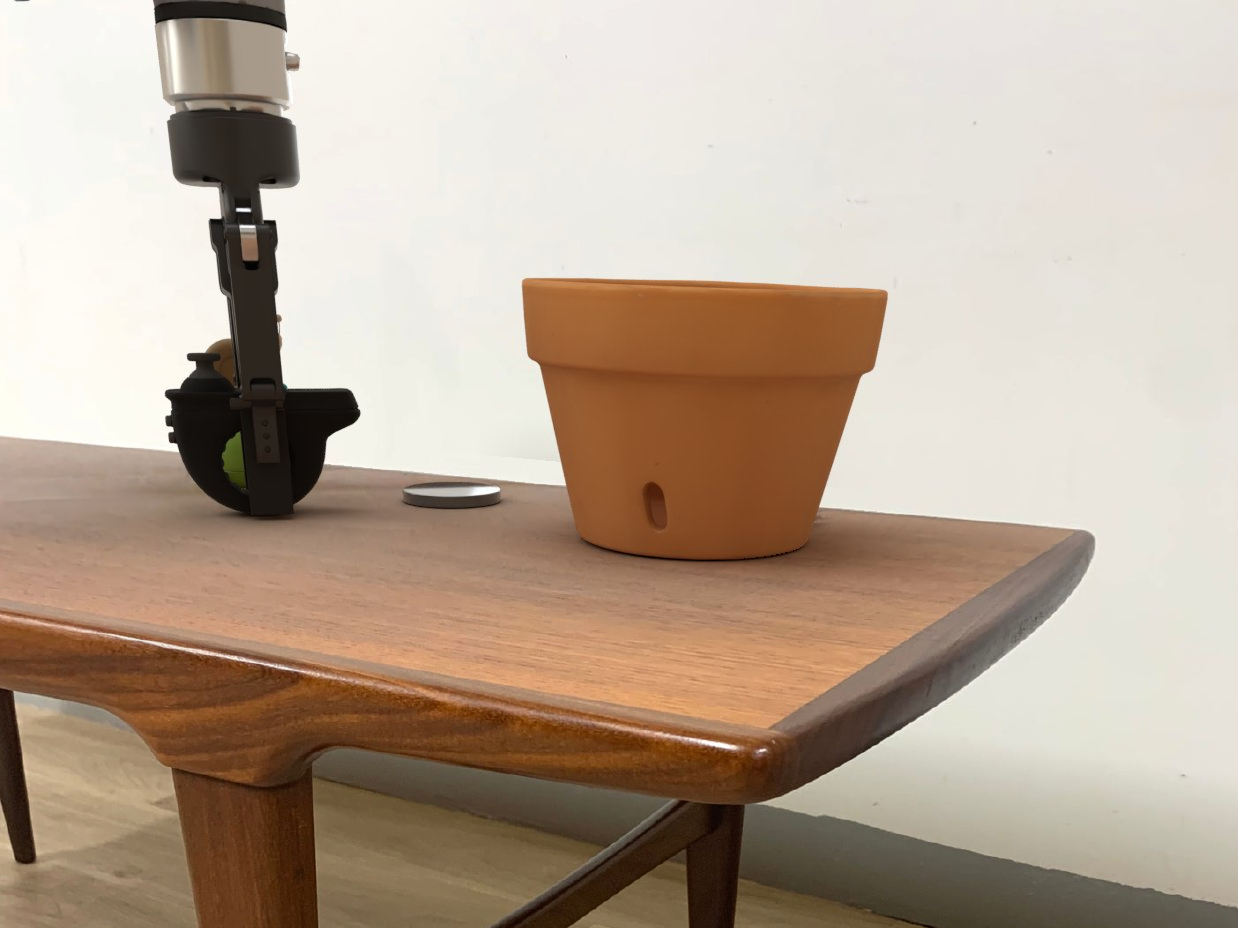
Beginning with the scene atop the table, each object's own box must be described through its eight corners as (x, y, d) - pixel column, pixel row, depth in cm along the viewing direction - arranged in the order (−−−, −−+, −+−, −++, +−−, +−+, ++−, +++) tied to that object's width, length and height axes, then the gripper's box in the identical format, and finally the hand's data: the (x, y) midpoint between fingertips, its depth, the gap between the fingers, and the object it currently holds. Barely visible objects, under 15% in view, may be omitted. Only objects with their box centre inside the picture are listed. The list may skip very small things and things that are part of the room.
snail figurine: (310, 488, 98) (296, 315, 93) (228, 496, 94) (210, 315, 89) (277, 480, 101) (262, 312, 97) (197, 486, 98) (178, 312, 93)
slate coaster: (410, 509, 90) (410, 497, 90) (396, 494, 96) (395, 483, 96) (510, 506, 92) (510, 494, 92) (489, 491, 98) (489, 480, 98)
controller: (177, 510, 88) (157, 351, 84) (362, 504, 92) (352, 351, 88) (177, 520, 84) (157, 354, 80) (370, 513, 88) (360, 354, 84)
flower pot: (930, 541, 83) (957, 285, 77) (721, 592, 68) (735, 282, 62) (676, 500, 95) (682, 279, 89) (455, 536, 81) (445, 275, 75)
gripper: (307, 98, 72) (341, 526, 81) (284, 130, 88) (315, 486, 97) (163, 90, 70) (215, 532, 79) (166, 125, 86) (209, 490, 95)
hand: (270, 506), depth 88 cm, fingers open, 5 cm apart
